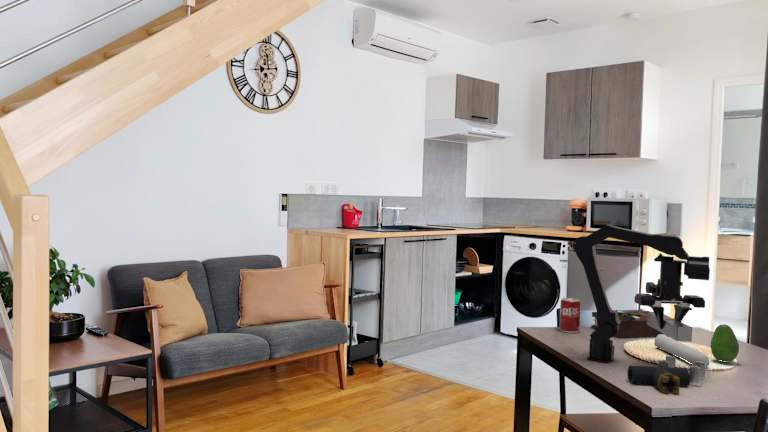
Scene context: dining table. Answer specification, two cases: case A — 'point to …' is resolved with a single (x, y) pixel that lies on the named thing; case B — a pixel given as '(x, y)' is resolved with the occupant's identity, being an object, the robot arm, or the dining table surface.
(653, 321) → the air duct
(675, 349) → the tube
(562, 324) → the soda can
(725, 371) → the dining table surface
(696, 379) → the collar rail
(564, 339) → the dining table surface
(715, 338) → the avocado
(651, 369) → the pipe connector
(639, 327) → the brown flat box
